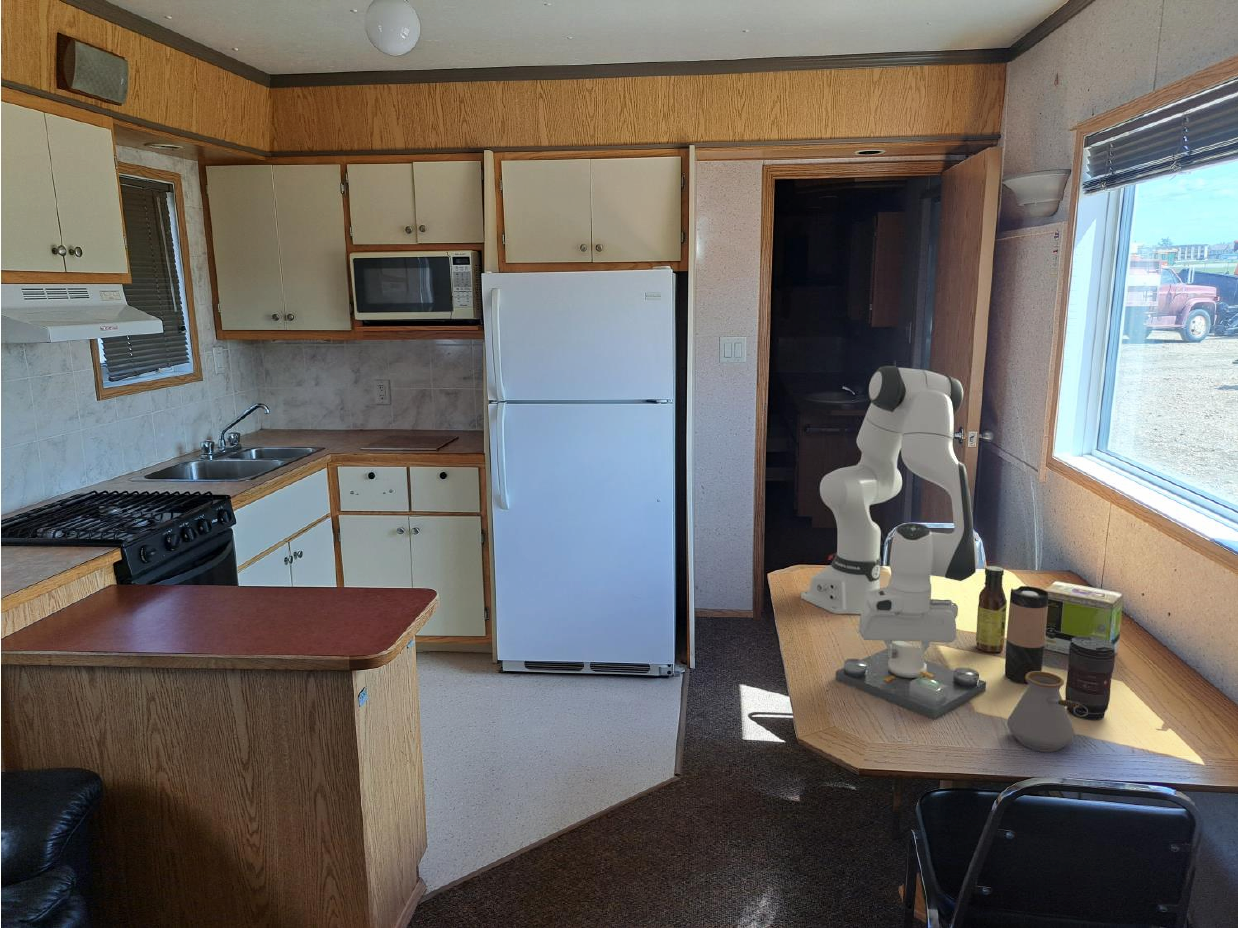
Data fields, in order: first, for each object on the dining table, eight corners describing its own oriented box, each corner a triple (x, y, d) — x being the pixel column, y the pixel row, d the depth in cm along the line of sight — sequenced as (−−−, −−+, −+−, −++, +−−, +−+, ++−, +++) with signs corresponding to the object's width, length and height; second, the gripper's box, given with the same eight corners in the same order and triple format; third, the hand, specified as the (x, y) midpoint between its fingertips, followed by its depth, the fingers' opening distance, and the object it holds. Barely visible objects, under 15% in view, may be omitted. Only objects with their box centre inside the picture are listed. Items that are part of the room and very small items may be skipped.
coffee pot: (997, 725, 171) (1003, 653, 168) (1058, 727, 170) (1064, 655, 167) (1039, 785, 150) (1047, 705, 147) (1109, 788, 149) (1118, 707, 146)
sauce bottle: (1006, 654, 204) (1012, 573, 200) (978, 652, 205) (984, 572, 202) (1000, 643, 211) (1006, 565, 207) (972, 642, 212) (978, 563, 208)
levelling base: (835, 679, 192) (836, 654, 191) (888, 655, 204) (889, 631, 203) (934, 719, 174) (935, 691, 172) (985, 690, 186) (987, 664, 185)
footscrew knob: (880, 667, 193) (881, 644, 192) (905, 659, 197) (906, 636, 196) (920, 686, 183) (921, 661, 182) (945, 677, 187) (947, 653, 186)
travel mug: (1043, 687, 187) (1051, 599, 183) (1004, 682, 190) (1011, 595, 186) (1039, 673, 194) (1047, 587, 190) (1002, 668, 197) (1009, 584, 193)
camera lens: (1118, 718, 173) (1125, 647, 170) (1085, 724, 171) (1092, 652, 168) (1086, 700, 181) (1093, 632, 178) (1054, 706, 179) (1060, 637, 176)
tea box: (1118, 651, 205) (1125, 592, 202) (1107, 665, 198) (1114, 603, 195) (1050, 635, 215) (1055, 578, 212) (1037, 648, 208) (1042, 589, 205)
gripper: (954, 594, 190) (950, 653, 193) (859, 592, 193) (856, 650, 195) (962, 605, 184) (958, 666, 187) (864, 602, 186) (861, 662, 189)
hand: (905, 658), depth 191 cm, fingers closed on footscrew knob, 4 cm apart
